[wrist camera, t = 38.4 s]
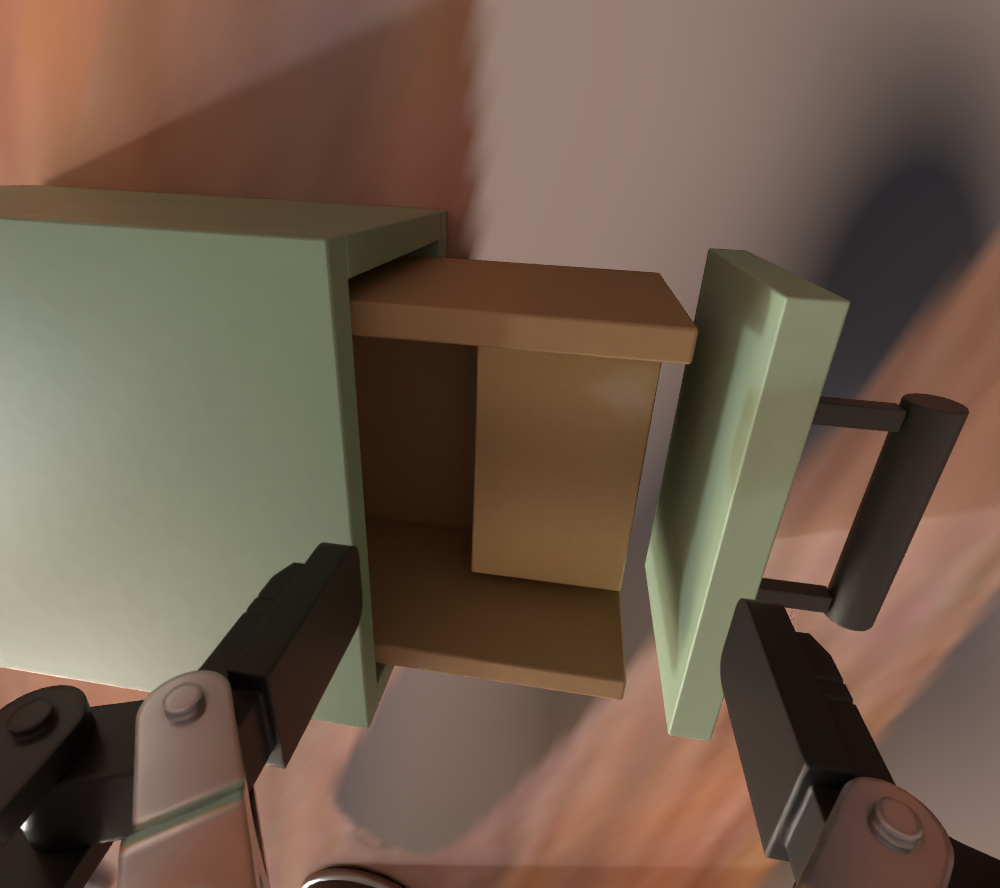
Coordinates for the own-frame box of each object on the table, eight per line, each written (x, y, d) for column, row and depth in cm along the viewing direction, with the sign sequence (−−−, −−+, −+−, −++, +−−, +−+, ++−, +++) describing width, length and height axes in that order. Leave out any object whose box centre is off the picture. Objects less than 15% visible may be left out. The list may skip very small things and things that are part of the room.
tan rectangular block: (616, 531, 21) (620, 592, 18) (487, 516, 22) (470, 572, 19) (650, 324, 18) (663, 356, 15) (496, 312, 18) (477, 340, 15)
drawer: (907, 260, 17) (1129, 320, 10) (792, 584, 23) (883, 770, 16) (307, 221, 19) (142, 249, 12) (337, 526, 25) (236, 666, 18)
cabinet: (447, 209, 19) (326, 238, 10) (445, 538, 25) (369, 729, 17) (36, 184, 21) (-359, 192, 12) (127, 498, 27) (-94, 651, 18)
